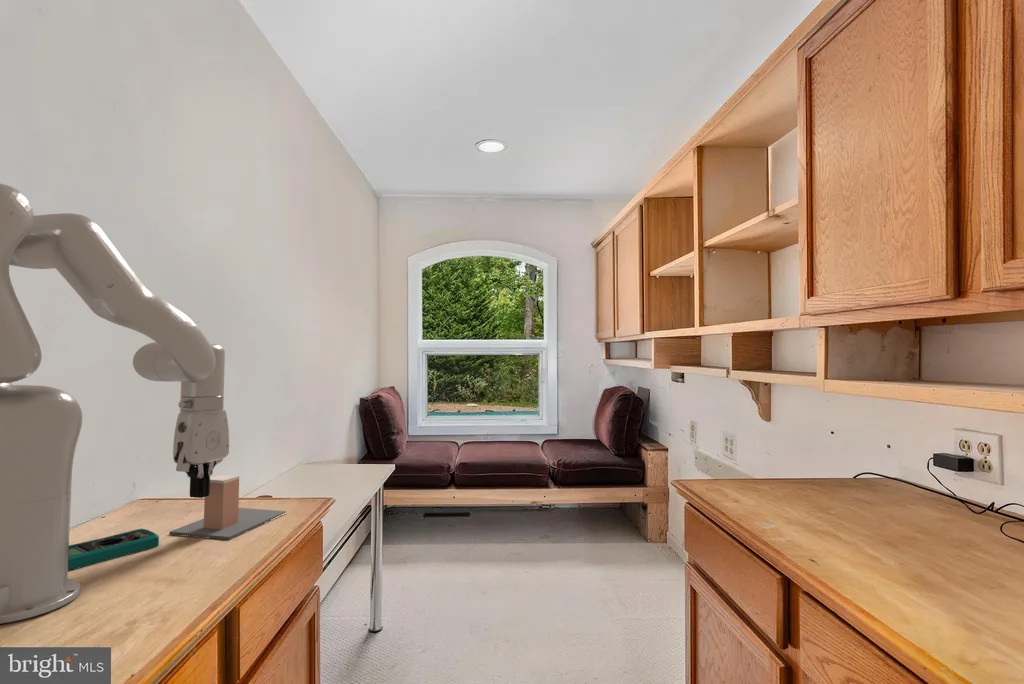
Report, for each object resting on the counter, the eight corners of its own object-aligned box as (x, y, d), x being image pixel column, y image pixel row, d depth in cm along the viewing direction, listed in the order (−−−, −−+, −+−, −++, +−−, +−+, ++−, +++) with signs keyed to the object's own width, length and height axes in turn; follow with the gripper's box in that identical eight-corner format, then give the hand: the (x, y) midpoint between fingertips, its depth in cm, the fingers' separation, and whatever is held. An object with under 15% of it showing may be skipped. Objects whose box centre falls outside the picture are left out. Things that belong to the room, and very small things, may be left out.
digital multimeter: (162, 547, 99) (163, 532, 99) (64, 574, 87) (65, 556, 87) (144, 540, 103) (145, 525, 103) (48, 565, 90) (49, 548, 91)
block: (222, 529, 107) (223, 480, 107) (203, 527, 108) (205, 479, 108) (237, 522, 111) (239, 475, 112) (219, 521, 112) (221, 474, 113)
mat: (229, 540, 102) (229, 536, 102) (169, 534, 105) (169, 531, 105) (285, 513, 120) (286, 511, 120) (233, 509, 123) (233, 507, 123)
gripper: (188, 408, 97) (185, 508, 96) (244, 402, 111) (242, 488, 111) (154, 407, 98) (151, 505, 97) (214, 401, 113) (211, 486, 112)
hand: (199, 496), depth 104 cm, fingers closed
